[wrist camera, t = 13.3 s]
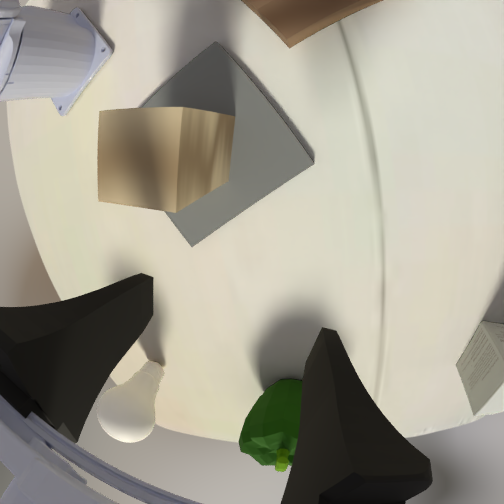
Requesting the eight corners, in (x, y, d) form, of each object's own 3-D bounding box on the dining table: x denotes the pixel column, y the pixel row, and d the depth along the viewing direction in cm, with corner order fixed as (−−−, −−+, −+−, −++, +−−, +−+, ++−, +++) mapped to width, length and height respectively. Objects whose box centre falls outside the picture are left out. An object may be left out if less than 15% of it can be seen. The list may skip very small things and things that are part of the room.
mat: (117, 139, 20) (113, 139, 19) (218, 43, 15) (215, 41, 15) (194, 244, 22) (191, 247, 22) (314, 163, 18) (314, 163, 17)
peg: (174, 113, 18) (99, 111, 10) (235, 116, 17) (182, 106, 10) (170, 174, 20) (98, 201, 12) (228, 181, 19) (176, 213, 12)
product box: (515, 323, 18) (545, 368, 12) (489, 365, 21) (510, 412, 14) (481, 319, 19) (511, 371, 13) (453, 365, 22) (472, 418, 15)
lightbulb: (128, 341, 29) (76, 408, 19) (173, 348, 28) (123, 428, 18) (145, 377, 31) (103, 441, 22) (187, 385, 30) (149, 460, 20)
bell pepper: (305, 421, 29) (295, 493, 20) (243, 398, 29) (219, 472, 20) (347, 385, 25) (348, 471, 16) (276, 357, 25) (255, 448, 16)
